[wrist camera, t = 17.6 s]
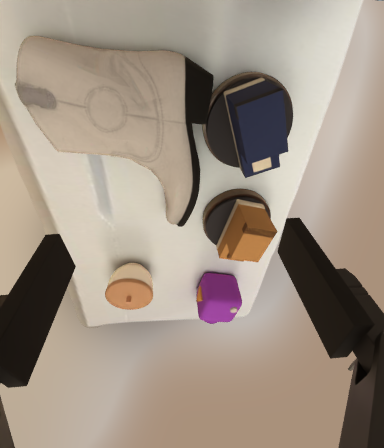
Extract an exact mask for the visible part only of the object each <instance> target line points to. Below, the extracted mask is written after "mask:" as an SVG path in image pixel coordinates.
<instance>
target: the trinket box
mask: <svg viewBox="0 0 384 448" xmlns="http://www.w3.org/2000/svg"><path fill="white" fill-rule="evenodd" d="M105 297H106V299H107V301H108V302H109V303H110V304H112V305H113V306H115V307H118V308H121V309H130V310H131V309H139V308H142V307H145V306H146V305H148V304H149V303H150V302H151V301H152V298H153V283H152V278H151V275H150V273H149V272H148V271H147V270H146V269H145V268H144V267H143V266H142V265H140V264H138V263H127V264H125V265H123V266H121V267H119V268H118V269H117V270H116V271H115V272H114V273H113V274H112V276H111V278H110V280H109V283H108V287H107V289H106V292H105Z"/></svg>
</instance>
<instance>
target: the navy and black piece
mask: <svg viewBox="0 0 384 448" xmlns="http://www.w3.org/2000/svg"><path fill="white" fill-rule="evenodd" d="M292 121H293V109H292V104H291V101H290V98H289V96H288V95H287V93H286V91H285V90H284V89H283V88H282V87H281V86H280V85H278V84H277V83H275V82H274V81H272V80H269V79H266V78H262V77H251V78H245V79H242V80H239V81H237V82H235V83H233V84H232V85H230V86H229V87H227V88H226V89H225V90H224V91H223V92H222V93H221V94H220V95H219V96H218V98H217V99H216V100H215V102H214V104H213V105H212V107H211V110H210V112H209V115H208V119H207V128H206V131H207V138H208V142H209V145H210V148H211V149H212V151H213V153H214V154H215V155H216V157H217V158H218V159H220V160H221V161H222V162H224V163H225V164H227V165H230V166H233V167H239V168H240V169H241V171H242V172H243V174H244V176H245V178H247V177H250V176H253V175H256V174H259V173H262V172H265V171H268V170H271V169H274V168H278V167H280V163H279V154H282V153H285V152H288V143H287V137H288V135H289V133H290V130H291V126H292Z"/></svg>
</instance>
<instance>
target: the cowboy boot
mask: <svg viewBox="0 0 384 448" xmlns="http://www.w3.org/2000/svg"><path fill="white" fill-rule="evenodd" d="M15 87H16V90H17V92H18V95H19V98H20V100H21V101H22V103H23V104H24V105H25V106H26V108H27V109H28V111H29V113H30V115H31V116H32V118H33V120H34V121H35V123H36V125H37V126H38V127H39V128H40V130H41V131H42V132H43V134H44V135H45V136H46V137H47V139H48V140H49V141H50V143H51V144H52V145H53V147H54V148H55V149H56V150H57V151H58V152H72V153H84V154H99V155H111V156H117V157H123V158H128V159H131V160H133V161H135V162H137V163H138V164H140V165H142V166H144V167H146V168H148V169H149V170H151V171H152V172H153V173H154V174H155V175H156V176H157V178H158V179H159V181H160V182H161V184H162V186H163V188H164V191H165V193H164V194H165V200H166V218H167V221H168V222H169V223H171V224H177V225H178V226H181V227H182V226H184V225H185V223H186V222H187V220H188V218H189V217H190V215H191V213H192V211H193V209H194V206H195V204H196V200H197V197H198V192H199V184H200V166H199V159H198V155H197V150H196V146H195V141H194V136H193V130H192V124H191V123H197V124H207V118H208V112H209V106H210V101H211V95H212V89H213V75H212V74H210V73H209V72H207V71H206V70H204V69H203V68H202V67H200V66H199V65H197V64H196V63H194V62H193V61H191V60H190V59H188V58H187V57H185V56H183V55H182V54H179V53H176V52H172V51H165V50H157V51H124V50H112V49H100V48H94V47H88V46H82V45H77V44H72V43H67V42H63V41H59V40H54V39H50V38H46V37H41V36H29V37H27V38H26V39H24V41H23V42H22V44H21V46H20V49H19V52H18V59H17V81H16V83H15Z"/></svg>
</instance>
